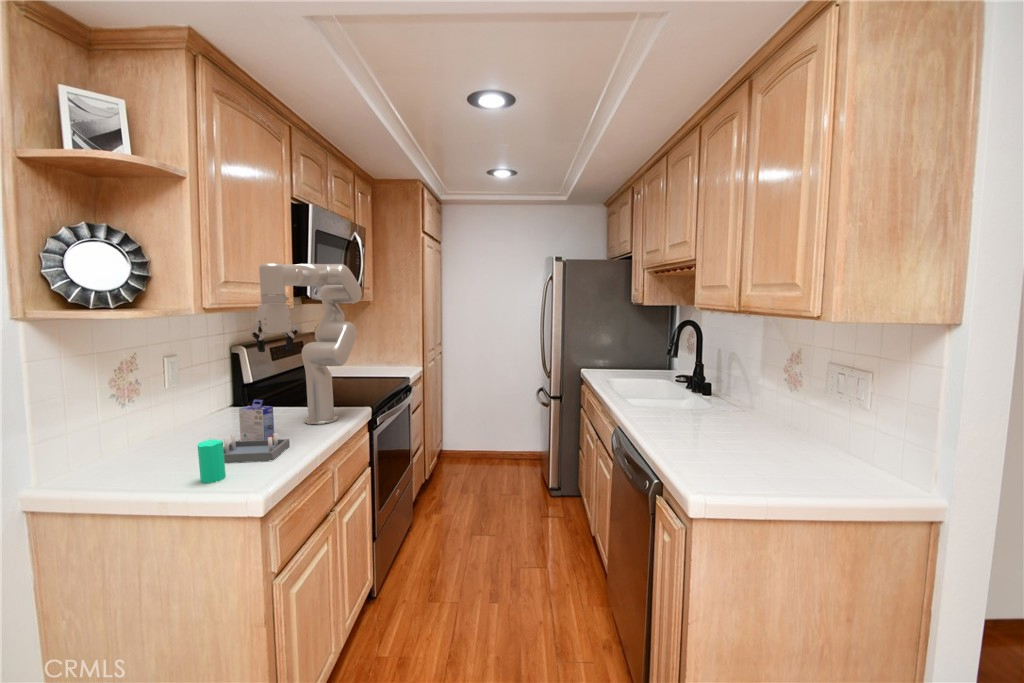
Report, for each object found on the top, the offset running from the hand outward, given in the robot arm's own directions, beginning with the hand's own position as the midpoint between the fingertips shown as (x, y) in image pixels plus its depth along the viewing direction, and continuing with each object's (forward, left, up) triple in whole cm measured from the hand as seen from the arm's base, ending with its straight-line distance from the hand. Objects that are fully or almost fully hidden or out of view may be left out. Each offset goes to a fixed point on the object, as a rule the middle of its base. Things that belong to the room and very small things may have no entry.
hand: (276, 350), depth 168 cm
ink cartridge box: (0, -8, -32) cm, 33 cm away
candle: (+34, -6, -32) cm, 47 cm away
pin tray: (+14, -4, -32) cm, 35 cm away
